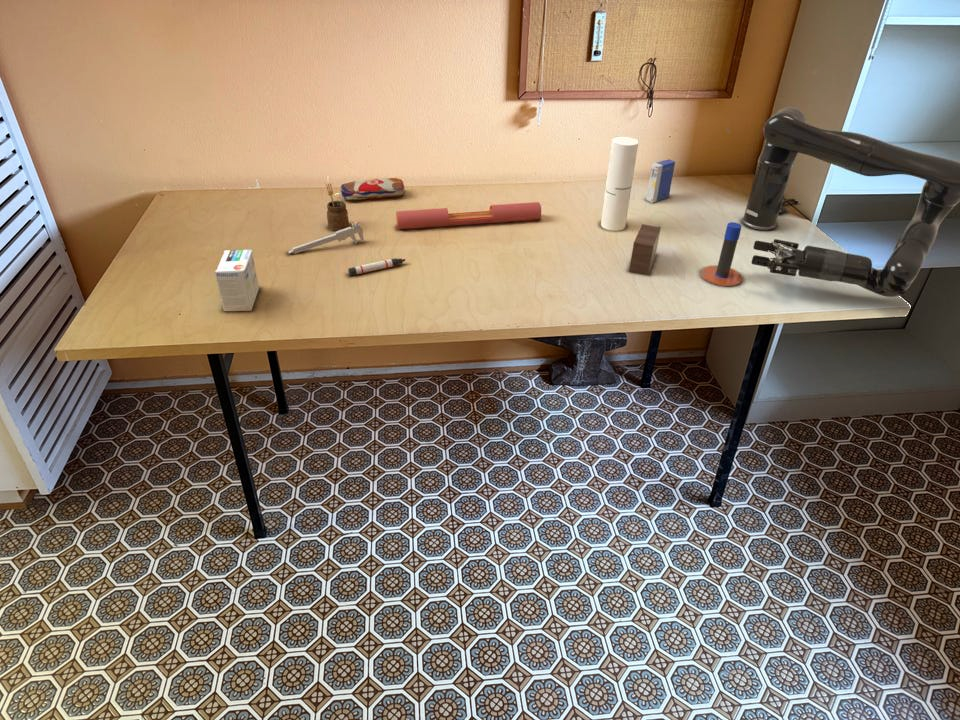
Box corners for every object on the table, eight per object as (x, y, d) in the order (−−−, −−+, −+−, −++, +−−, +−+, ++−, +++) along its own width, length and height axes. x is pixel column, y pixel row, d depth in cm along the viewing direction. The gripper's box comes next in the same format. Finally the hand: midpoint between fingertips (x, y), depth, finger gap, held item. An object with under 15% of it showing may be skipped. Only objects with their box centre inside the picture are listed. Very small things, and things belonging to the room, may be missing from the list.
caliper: (362, 241, 195) (360, 220, 191) (363, 242, 194) (361, 221, 190) (288, 253, 188) (284, 231, 184) (289, 255, 187) (285, 233, 184)
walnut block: (637, 251, 193) (642, 223, 188) (655, 255, 191) (660, 227, 186) (629, 271, 184) (633, 242, 179) (648, 275, 182) (653, 246, 177)
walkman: (662, 194, 225) (668, 157, 218) (668, 197, 224) (675, 160, 216) (645, 200, 221) (651, 162, 214) (652, 202, 220) (658, 165, 213)
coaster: (703, 264, 187) (704, 262, 187) (742, 271, 185) (743, 269, 184) (699, 281, 180) (699, 279, 179) (739, 289, 177) (740, 287, 177)
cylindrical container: (624, 231, 203) (638, 146, 188) (600, 229, 204) (611, 143, 189) (625, 221, 208) (638, 137, 194) (601, 219, 209) (612, 135, 195)
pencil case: (402, 204, 215) (401, 189, 212) (338, 203, 215) (336, 187, 212) (405, 190, 224) (405, 175, 221) (344, 189, 224) (342, 173, 221)
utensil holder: (335, 233, 198) (331, 193, 191) (323, 225, 202) (318, 186, 195) (353, 227, 201) (349, 187, 194) (341, 220, 205) (337, 180, 198)
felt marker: (694, 241, 181) (736, 216, 174) (721, 277, 184) (764, 253, 177) (692, 247, 179) (735, 221, 171) (720, 283, 181) (763, 259, 174)
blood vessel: (536, 215, 211) (537, 199, 208) (540, 222, 207) (542, 206, 204) (396, 224, 204) (395, 208, 201) (398, 232, 200) (397, 215, 197)
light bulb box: (232, 288, 172) (223, 249, 166) (260, 288, 173) (252, 248, 167) (223, 312, 164) (213, 271, 157) (252, 311, 164) (244, 270, 158)
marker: (351, 277, 178) (350, 270, 177) (348, 273, 180) (347, 266, 178) (407, 264, 184) (406, 258, 183) (404, 261, 186) (403, 254, 184)
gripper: (818, 291, 168) (747, 278, 172) (817, 264, 179) (751, 253, 183) (828, 263, 164) (755, 250, 168) (826, 237, 174) (758, 226, 179)
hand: (753, 251), depth 176 cm, fingers open, 8 cm apart
